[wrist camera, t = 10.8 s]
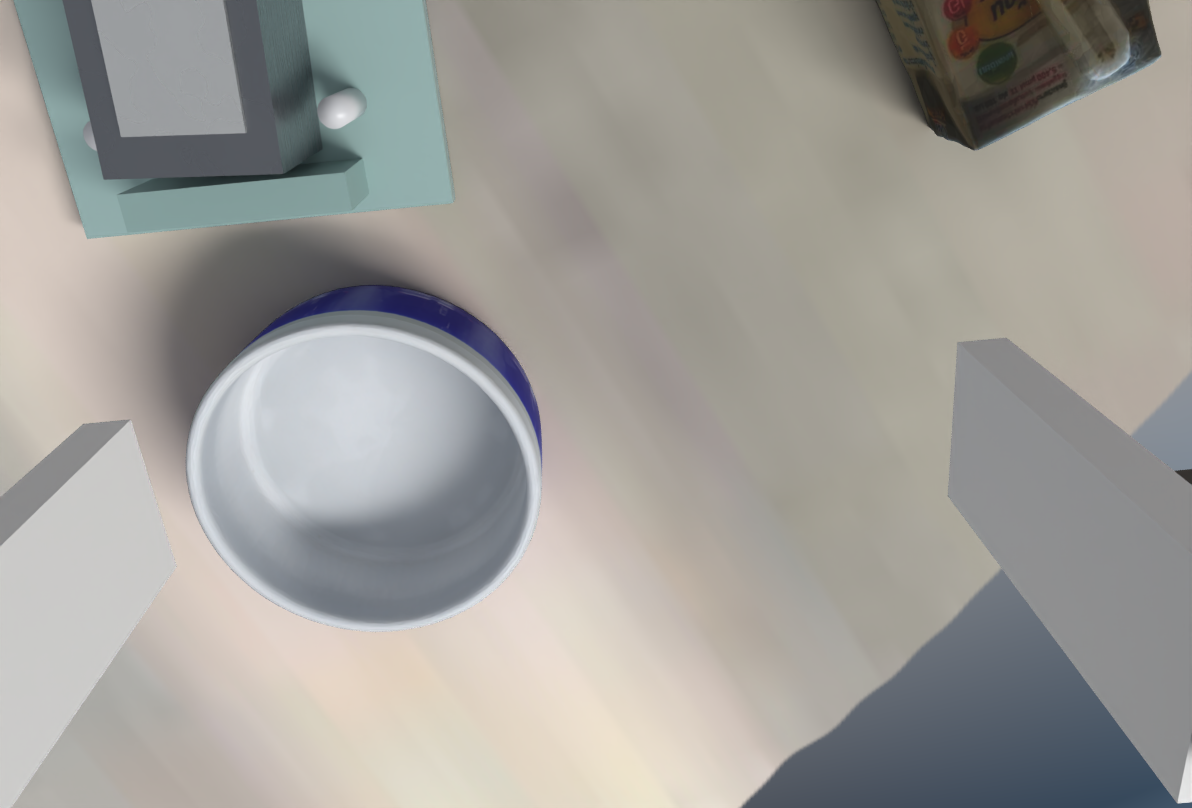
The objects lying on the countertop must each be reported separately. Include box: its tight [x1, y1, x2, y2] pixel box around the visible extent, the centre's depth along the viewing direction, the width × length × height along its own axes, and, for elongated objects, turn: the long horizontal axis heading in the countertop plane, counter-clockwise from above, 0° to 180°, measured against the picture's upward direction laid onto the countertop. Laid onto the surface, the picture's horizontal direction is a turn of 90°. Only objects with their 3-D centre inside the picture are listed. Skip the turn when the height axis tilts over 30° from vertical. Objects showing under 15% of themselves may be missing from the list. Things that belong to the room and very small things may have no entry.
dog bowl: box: [186, 285, 542, 632], centre depth 44 cm, size 15×15×6 cm
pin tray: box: [14, 0, 455, 239], centre depth 37 cm, size 16×16×4 cm
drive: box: [62, 0, 323, 180], centre depth 35 cm, size 10×6×6 cm, turn 2°
